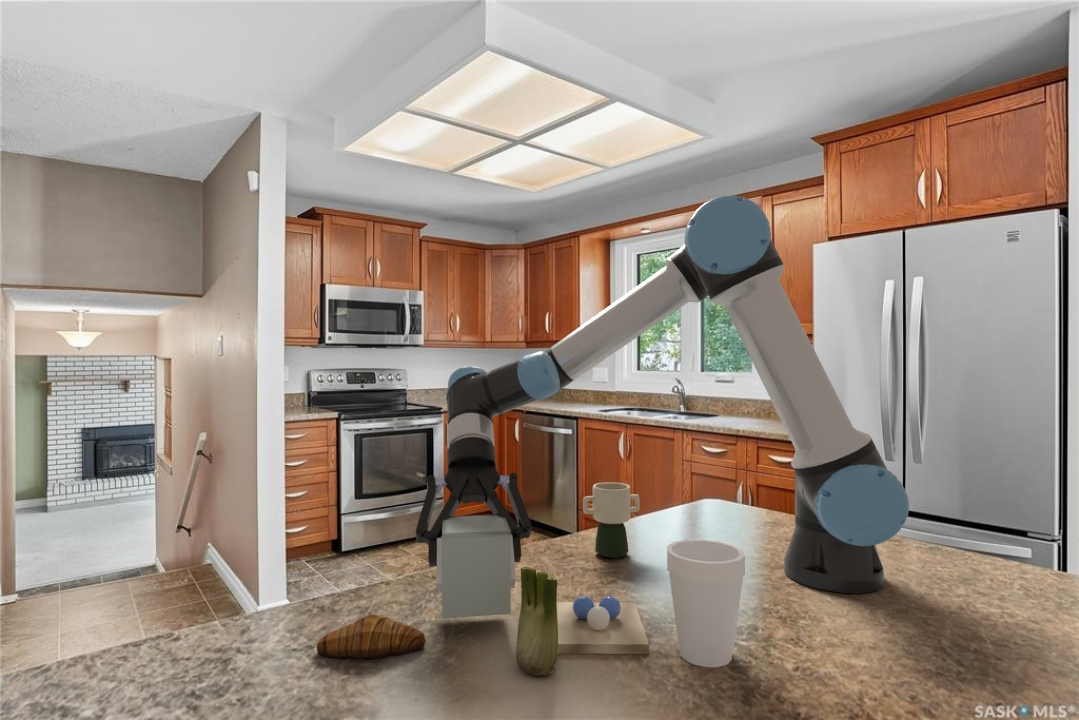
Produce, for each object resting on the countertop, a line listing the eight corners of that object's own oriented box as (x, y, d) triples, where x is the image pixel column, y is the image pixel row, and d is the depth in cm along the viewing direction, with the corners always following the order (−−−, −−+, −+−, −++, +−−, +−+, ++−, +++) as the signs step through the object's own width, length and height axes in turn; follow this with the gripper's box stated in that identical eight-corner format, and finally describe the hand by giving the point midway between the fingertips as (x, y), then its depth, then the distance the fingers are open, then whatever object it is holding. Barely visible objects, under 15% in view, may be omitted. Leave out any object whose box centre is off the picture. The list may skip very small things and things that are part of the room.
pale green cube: (504, 588, 90) (504, 514, 90) (510, 614, 81) (510, 531, 81) (442, 592, 89) (442, 516, 89) (442, 618, 80) (442, 534, 80)
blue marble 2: (619, 613, 85) (619, 592, 85) (621, 623, 82) (621, 601, 82) (598, 613, 86) (597, 592, 85) (599, 623, 82) (599, 601, 82)
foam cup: (749, 677, 71) (749, 565, 71) (667, 670, 73) (667, 560, 72) (739, 640, 80) (739, 541, 80) (667, 634, 82) (667, 537, 82)
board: (635, 610, 89) (635, 602, 89) (649, 654, 76) (649, 644, 76) (525, 610, 90) (525, 602, 90) (521, 653, 77) (521, 643, 77)
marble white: (608, 624, 82) (608, 602, 82) (611, 634, 79) (610, 611, 79) (586, 624, 82) (586, 602, 82) (587, 634, 79) (587, 611, 79)
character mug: (633, 547, 119) (633, 481, 119) (645, 559, 112) (645, 488, 112) (579, 550, 117) (578, 483, 117) (587, 563, 110) (587, 491, 110)
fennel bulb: (563, 679, 71) (563, 575, 71) (522, 686, 69) (522, 580, 69) (548, 655, 76) (548, 559, 76) (510, 661, 75) (510, 563, 75)
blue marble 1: (593, 613, 86) (593, 592, 85) (595, 623, 83) (595, 601, 82) (572, 613, 86) (572, 592, 86) (573, 623, 83) (572, 600, 83)
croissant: (309, 670, 73) (309, 629, 73) (322, 644, 80) (322, 606, 80) (423, 663, 75) (423, 622, 75) (427, 638, 82) (427, 600, 82)
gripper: (536, 460, 102) (552, 592, 86) (402, 464, 98) (394, 602, 83) (541, 433, 96) (559, 568, 81) (400, 435, 93) (391, 577, 77)
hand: (476, 585), depth 82 cm, fingers closed on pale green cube, 9 cm apart
